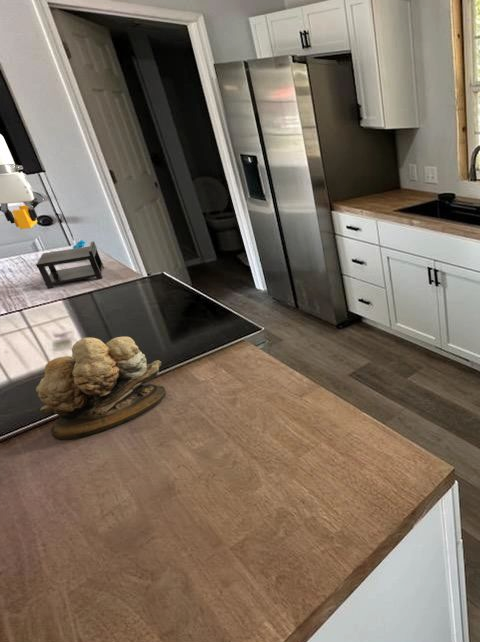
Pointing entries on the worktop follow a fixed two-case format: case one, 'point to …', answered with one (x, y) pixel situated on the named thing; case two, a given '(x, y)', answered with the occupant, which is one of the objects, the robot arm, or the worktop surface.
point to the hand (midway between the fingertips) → (23, 221)
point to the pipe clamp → (23, 218)
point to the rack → (70, 273)
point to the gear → (80, 244)
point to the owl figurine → (98, 387)
